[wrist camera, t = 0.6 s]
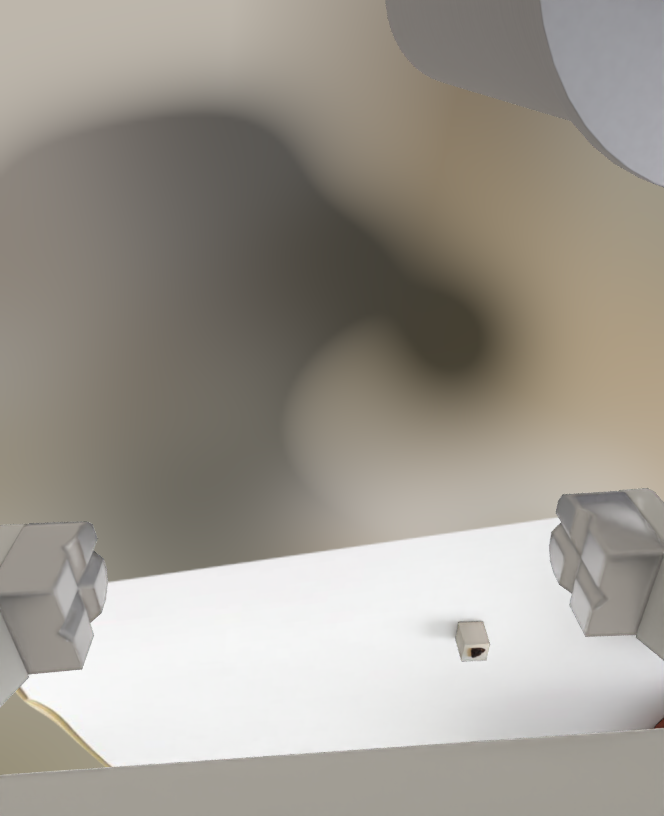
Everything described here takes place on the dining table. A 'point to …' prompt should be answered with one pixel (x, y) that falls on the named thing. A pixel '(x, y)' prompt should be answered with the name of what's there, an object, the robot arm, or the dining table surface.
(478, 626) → the cube with dark pebbles
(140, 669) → the dining table surface
